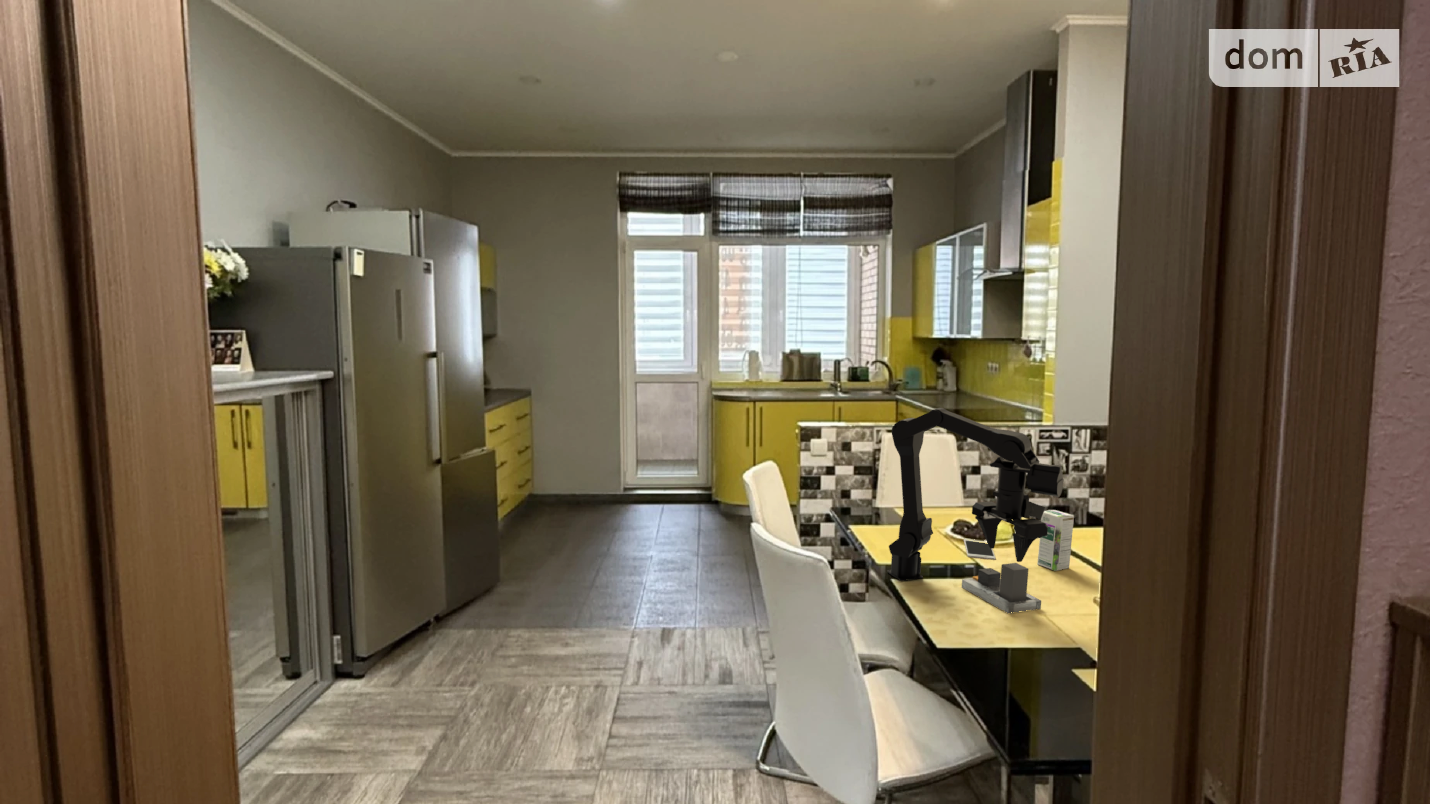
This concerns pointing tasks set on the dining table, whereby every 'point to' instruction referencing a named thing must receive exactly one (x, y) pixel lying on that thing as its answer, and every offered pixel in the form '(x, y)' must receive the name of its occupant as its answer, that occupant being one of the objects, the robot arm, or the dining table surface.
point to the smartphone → (978, 550)
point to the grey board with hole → (997, 592)
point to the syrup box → (1056, 540)
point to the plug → (1013, 582)
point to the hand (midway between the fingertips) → (1005, 554)
